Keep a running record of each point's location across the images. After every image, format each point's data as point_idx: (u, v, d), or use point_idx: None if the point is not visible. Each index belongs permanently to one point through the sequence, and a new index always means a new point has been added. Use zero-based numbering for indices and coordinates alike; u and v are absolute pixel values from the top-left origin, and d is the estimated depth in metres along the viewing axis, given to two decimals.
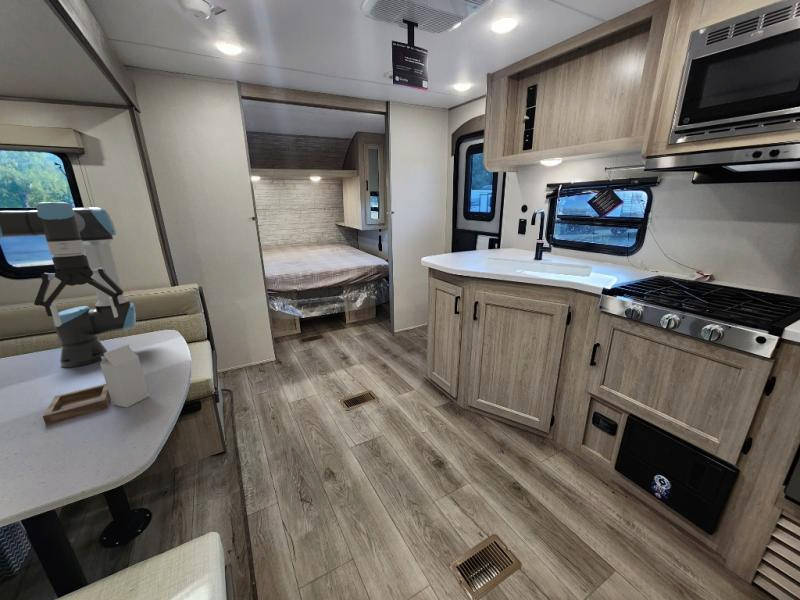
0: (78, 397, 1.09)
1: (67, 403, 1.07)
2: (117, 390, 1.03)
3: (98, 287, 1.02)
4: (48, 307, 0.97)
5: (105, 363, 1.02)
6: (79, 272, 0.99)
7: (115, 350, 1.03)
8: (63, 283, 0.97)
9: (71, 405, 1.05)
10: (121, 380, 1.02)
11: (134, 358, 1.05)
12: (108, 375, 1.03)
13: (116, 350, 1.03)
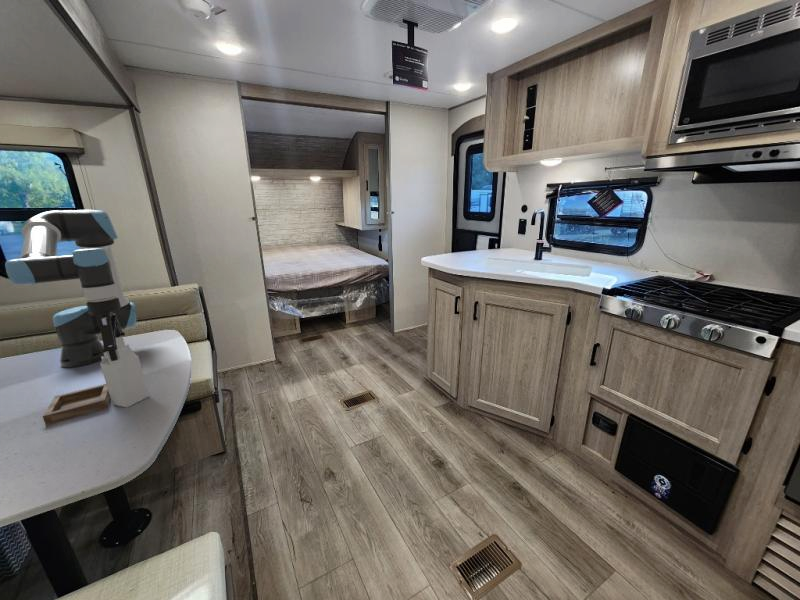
0: (78, 397, 1.09)
1: (67, 403, 1.07)
2: (117, 390, 1.03)
3: None
4: None
5: (105, 363, 1.02)
6: None
7: None
8: None
9: (71, 405, 1.05)
10: (121, 380, 1.02)
11: (134, 358, 1.05)
12: (108, 375, 1.03)
13: None
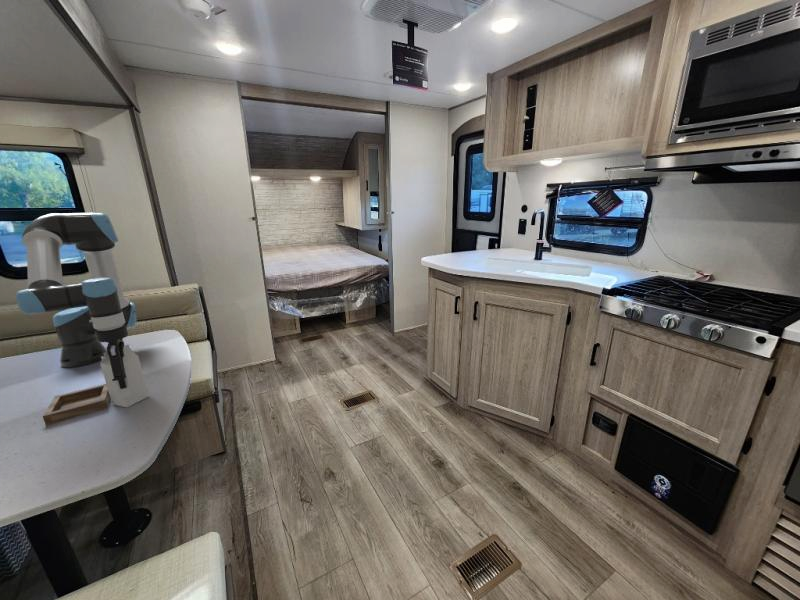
0: (78, 397, 1.09)
1: (67, 403, 1.07)
2: (117, 390, 1.03)
3: None
4: None
5: (105, 363, 1.02)
6: None
7: None
8: None
9: (71, 405, 1.05)
10: None
11: (134, 358, 1.05)
12: (108, 375, 1.03)
13: None
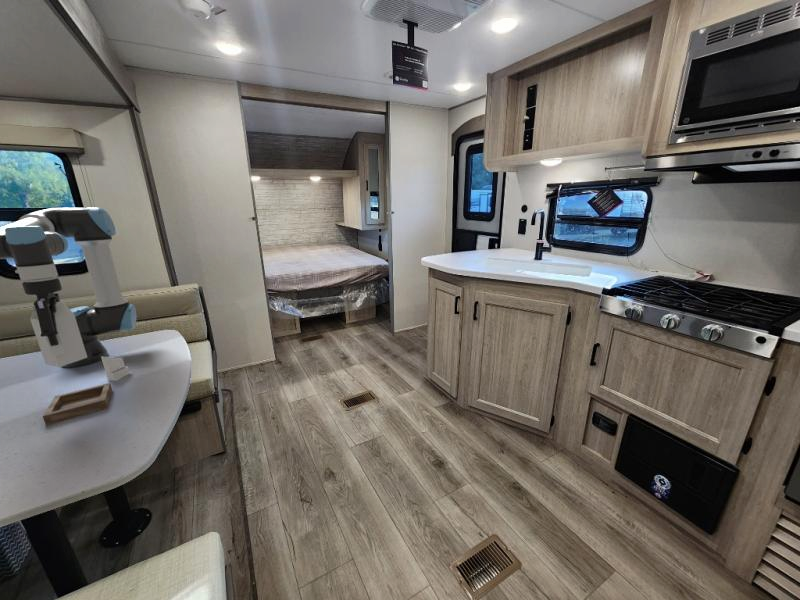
0: (78, 397, 1.09)
1: (67, 403, 1.07)
2: (49, 348, 0.96)
3: None
4: None
5: (35, 318, 0.95)
6: None
7: None
8: None
9: (71, 405, 1.05)
10: None
11: (69, 315, 0.99)
12: (39, 332, 0.96)
13: None
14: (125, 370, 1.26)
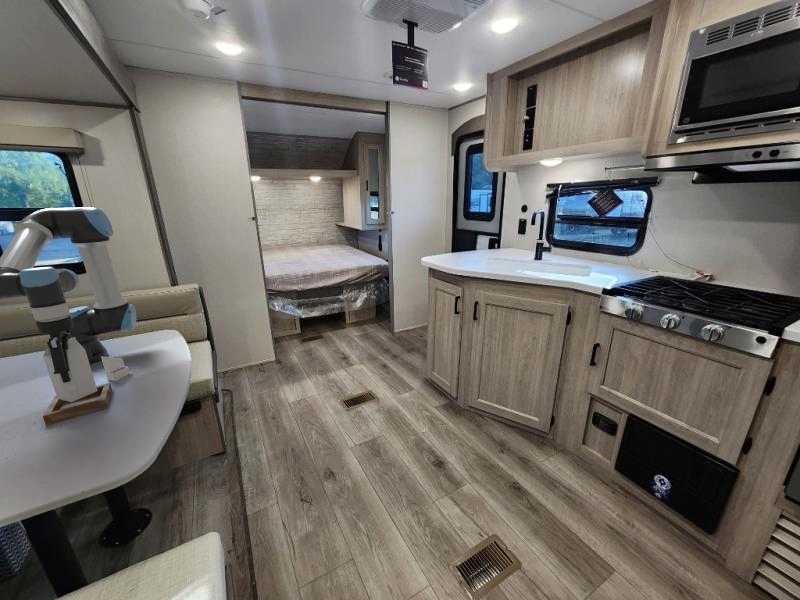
0: None
1: (67, 403, 1.07)
2: (61, 384, 0.99)
3: None
4: None
5: (48, 356, 0.98)
6: None
7: None
8: None
9: (71, 405, 1.05)
10: None
11: (80, 351, 1.02)
12: (51, 369, 0.99)
13: None
14: (125, 370, 1.26)
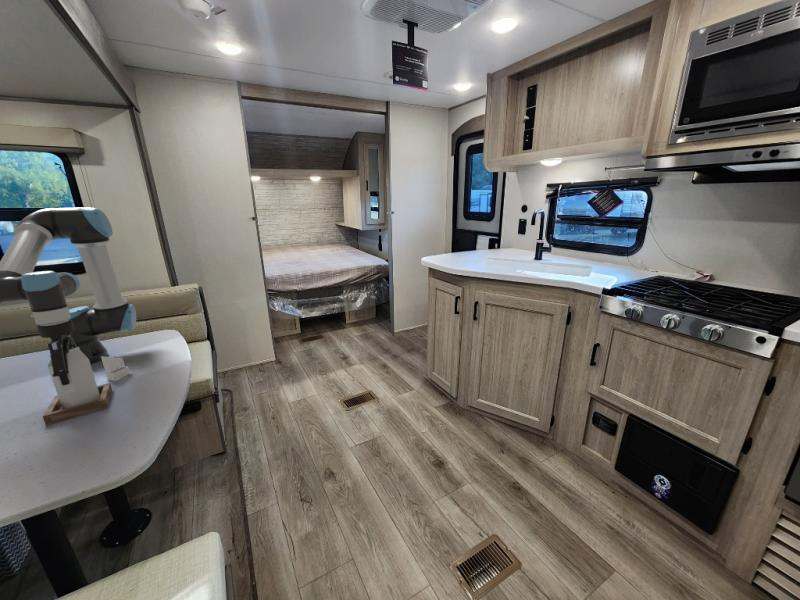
0: None
1: None
2: None
3: None
4: None
5: None
6: None
7: None
8: None
9: None
10: None
11: (84, 361, 1.03)
12: (56, 378, 1.00)
13: None
14: (125, 370, 1.26)
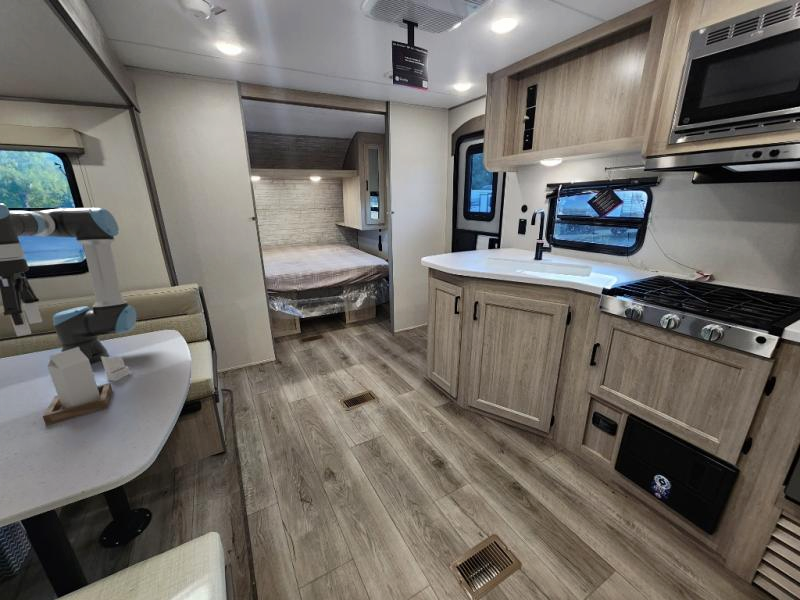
0: None
1: None
2: (65, 394, 1.01)
3: None
4: None
5: (52, 366, 1.00)
6: None
7: (63, 352, 1.01)
8: None
9: None
10: (69, 383, 1.00)
11: (84, 361, 1.03)
12: (55, 378, 1.00)
13: (64, 352, 1.01)
14: (125, 370, 1.26)
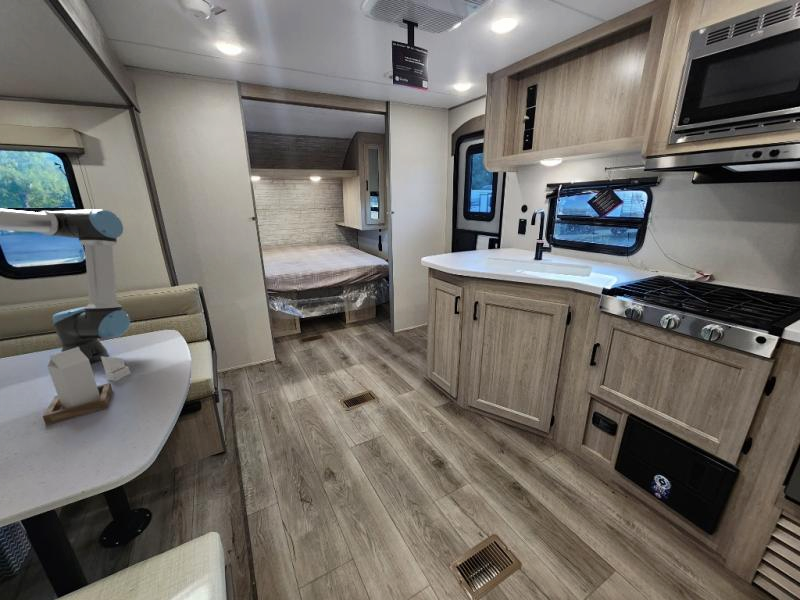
0: None
1: None
2: (65, 394, 1.01)
3: None
4: None
5: (52, 366, 1.00)
6: None
7: (63, 352, 1.01)
8: None
9: None
10: (69, 383, 1.00)
11: (84, 361, 1.03)
12: (55, 378, 1.00)
13: (64, 352, 1.01)
14: (125, 370, 1.26)
